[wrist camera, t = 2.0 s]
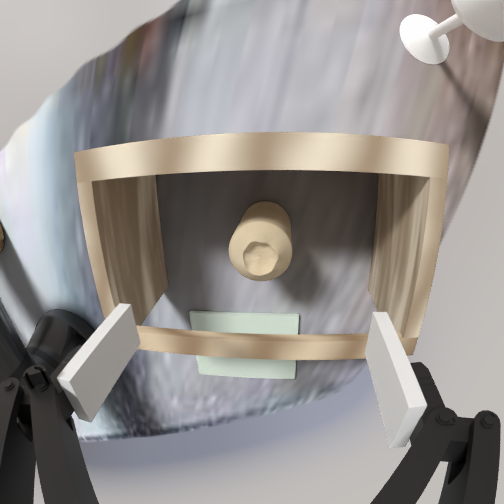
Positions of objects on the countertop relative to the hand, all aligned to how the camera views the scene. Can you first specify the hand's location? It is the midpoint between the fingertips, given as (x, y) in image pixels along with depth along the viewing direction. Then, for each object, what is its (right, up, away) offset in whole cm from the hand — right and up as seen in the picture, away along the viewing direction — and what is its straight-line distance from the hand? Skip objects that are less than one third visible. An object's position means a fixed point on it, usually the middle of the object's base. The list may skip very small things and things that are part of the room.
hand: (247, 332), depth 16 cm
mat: (-1, -9, +25) cm, 27 cm away
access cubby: (+2, +8, +18) cm, 20 cm away
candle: (+2, +7, +19) cm, 20 cm away
